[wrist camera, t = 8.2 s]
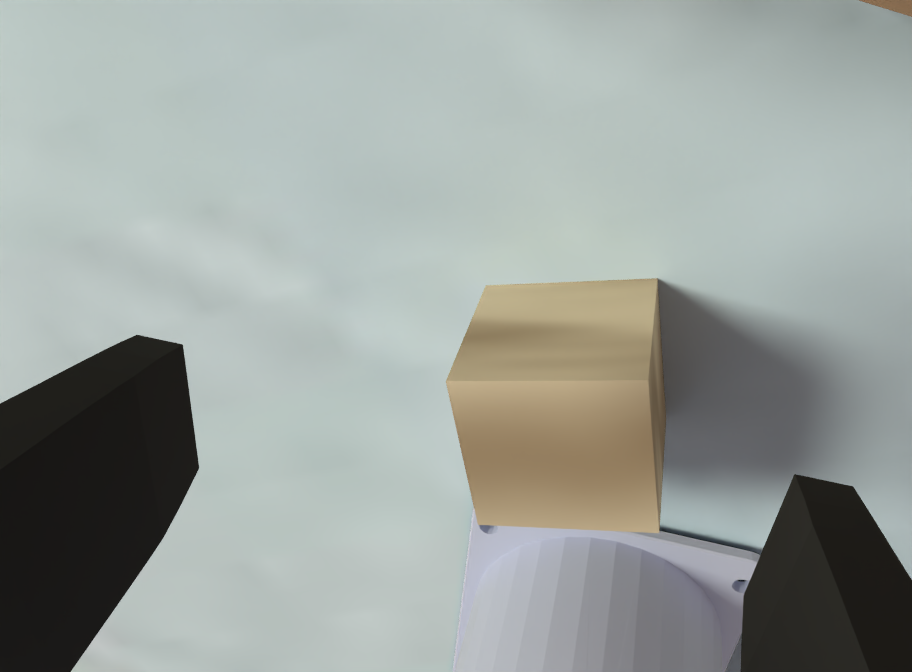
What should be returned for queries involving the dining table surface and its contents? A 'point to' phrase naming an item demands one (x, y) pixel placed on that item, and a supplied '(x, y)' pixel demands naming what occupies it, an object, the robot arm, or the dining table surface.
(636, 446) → the maple block
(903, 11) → the walnut block
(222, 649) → the dining table surface
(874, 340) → the dining table surface
